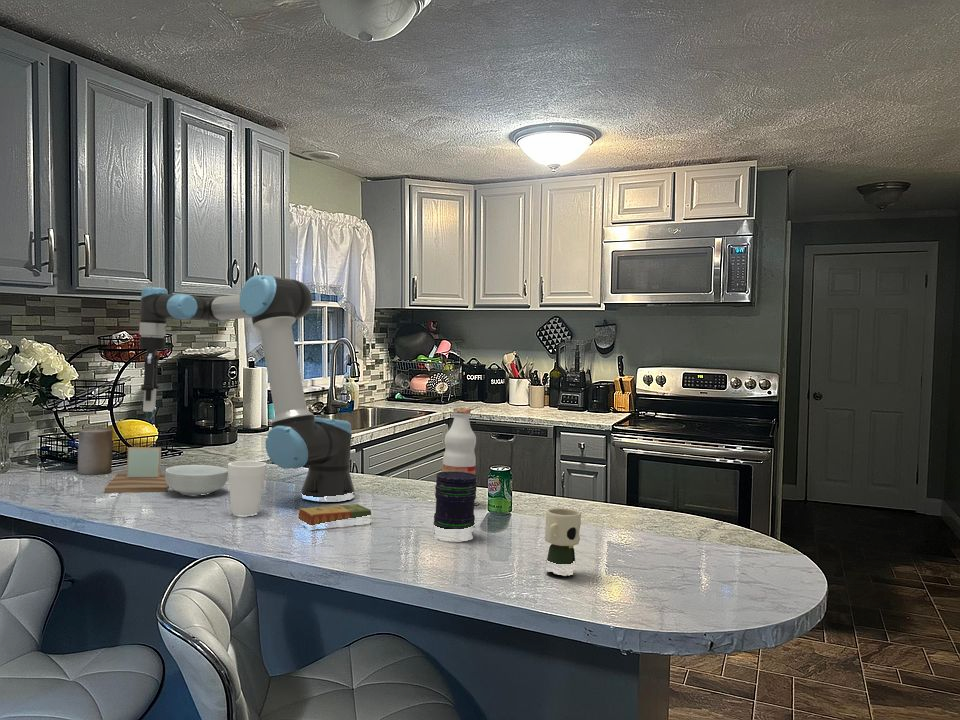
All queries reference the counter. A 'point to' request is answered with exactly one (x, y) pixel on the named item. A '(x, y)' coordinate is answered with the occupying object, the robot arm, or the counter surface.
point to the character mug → (562, 534)
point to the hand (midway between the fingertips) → (149, 410)
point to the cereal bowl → (196, 478)
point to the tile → (143, 462)
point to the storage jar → (455, 500)
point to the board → (137, 484)
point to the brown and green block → (332, 513)
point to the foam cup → (246, 486)
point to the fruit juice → (460, 444)
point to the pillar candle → (95, 451)
